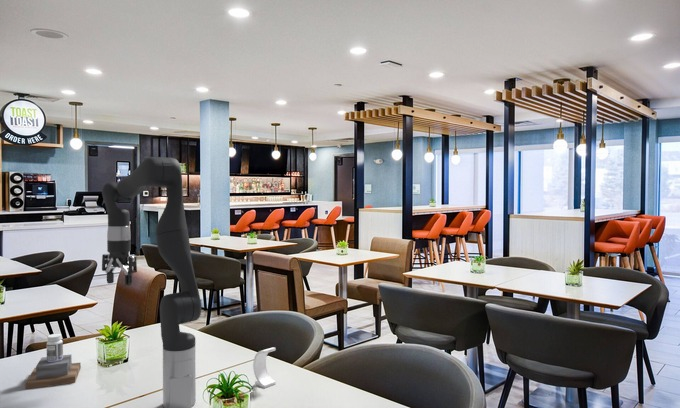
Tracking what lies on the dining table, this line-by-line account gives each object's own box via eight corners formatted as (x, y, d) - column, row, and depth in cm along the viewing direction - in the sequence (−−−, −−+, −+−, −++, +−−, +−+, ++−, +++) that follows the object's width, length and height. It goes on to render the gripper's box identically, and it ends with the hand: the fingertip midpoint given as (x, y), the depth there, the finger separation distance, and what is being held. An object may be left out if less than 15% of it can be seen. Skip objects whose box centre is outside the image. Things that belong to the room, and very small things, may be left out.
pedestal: (75, 382, 159) (75, 364, 159) (25, 388, 154) (25, 370, 154) (80, 368, 172) (80, 351, 172) (34, 373, 167) (34, 356, 167)
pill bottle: (59, 356, 166) (58, 332, 166) (65, 359, 163) (65, 334, 163) (44, 360, 162) (43, 335, 162) (50, 363, 160) (49, 338, 159)
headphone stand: (264, 388, 155) (264, 351, 155) (253, 382, 160) (253, 346, 159) (275, 384, 159) (275, 347, 158) (264, 379, 163) (264, 343, 163)
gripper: (95, 238, 170) (95, 284, 171) (125, 240, 165) (125, 287, 165) (113, 237, 177) (113, 280, 178) (142, 238, 172) (142, 284, 172)
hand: (119, 284), depth 171 cm, fingers open, 8 cm apart
